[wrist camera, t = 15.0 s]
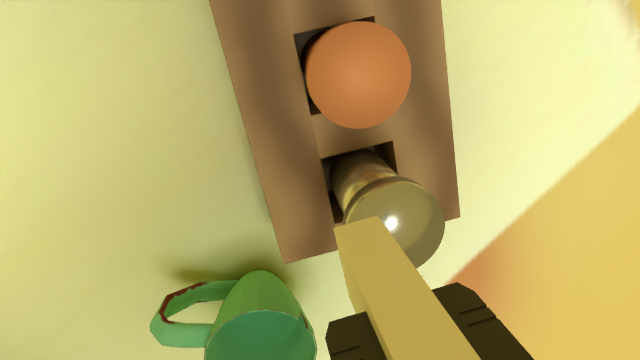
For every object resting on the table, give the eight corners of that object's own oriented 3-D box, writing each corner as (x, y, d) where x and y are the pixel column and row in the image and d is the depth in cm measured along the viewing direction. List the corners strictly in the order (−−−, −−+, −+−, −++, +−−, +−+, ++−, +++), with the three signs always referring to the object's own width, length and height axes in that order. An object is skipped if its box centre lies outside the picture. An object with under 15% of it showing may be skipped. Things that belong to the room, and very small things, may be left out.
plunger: (328, 216, 38) (356, 286, 28) (313, 149, 35) (338, 200, 25) (397, 198, 38) (449, 261, 28) (387, 131, 36) (439, 173, 26)
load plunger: (301, 107, 37) (320, 139, 27) (284, 30, 34) (298, 34, 24) (372, 89, 37) (416, 115, 27) (360, 12, 35) (404, 10, 25)
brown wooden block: (278, 222, 44) (283, 264, 36) (183, -117, 32) (164, -158, 25) (425, 184, 45) (460, 217, 37) (383, -158, 34) (422, -207, 26)
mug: (314, 258, 46) (331, 318, 37) (290, 331, 49) (299, 404, 40) (175, 232, 42) (155, 291, 33) (158, 312, 45) (134, 387, 36)
